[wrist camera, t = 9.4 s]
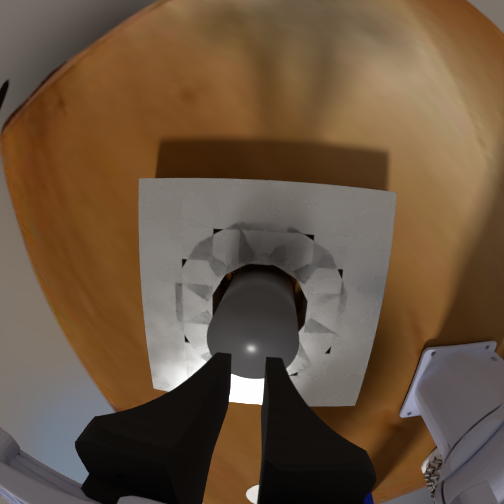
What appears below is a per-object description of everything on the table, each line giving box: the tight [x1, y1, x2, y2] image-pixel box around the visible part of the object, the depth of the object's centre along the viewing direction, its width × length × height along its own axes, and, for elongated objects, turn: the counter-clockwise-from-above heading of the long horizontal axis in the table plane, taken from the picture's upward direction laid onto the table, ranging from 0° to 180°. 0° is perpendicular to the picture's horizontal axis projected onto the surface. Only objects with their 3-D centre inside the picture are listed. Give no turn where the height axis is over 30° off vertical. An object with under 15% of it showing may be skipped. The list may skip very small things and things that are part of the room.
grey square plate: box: [139, 178, 397, 406], centre depth 19 cm, size 16×16×2 cm
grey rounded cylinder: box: [207, 264, 299, 379], centre depth 17 cm, size 5×5×7 cm
